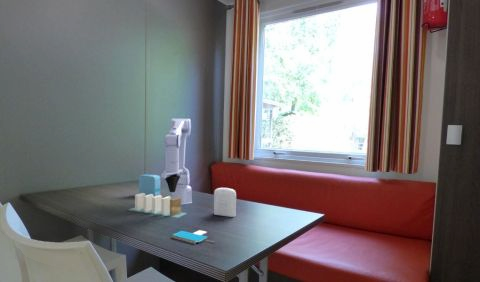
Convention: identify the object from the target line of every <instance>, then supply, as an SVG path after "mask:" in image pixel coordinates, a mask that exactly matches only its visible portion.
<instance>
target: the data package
mask: <svg viewBox="0 0 480 282" xmlns="http://www.w3.org/2000/svg"><path fill="white" fill-rule="evenodd" d="M138 191H139V192H138V194H141V193H145V196H146V195H149V194H153V197H155V196H158V195H161V175H158V174H149V173H148V174H147V173H146V174H140V175H139V176H138Z"/></svg>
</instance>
